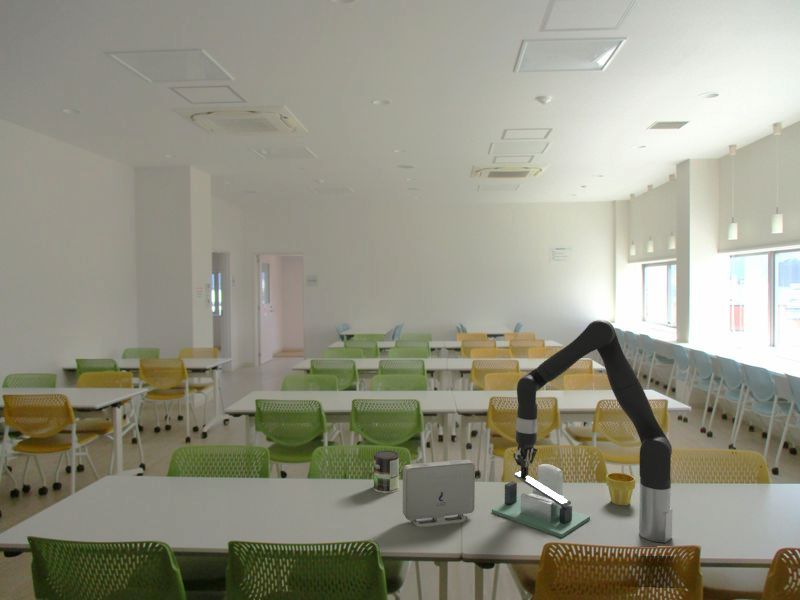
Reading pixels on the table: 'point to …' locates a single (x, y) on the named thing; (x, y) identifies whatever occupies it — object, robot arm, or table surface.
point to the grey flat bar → (543, 490)
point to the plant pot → (620, 487)
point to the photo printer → (551, 478)
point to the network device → (438, 491)
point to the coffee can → (386, 471)
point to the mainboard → (552, 528)
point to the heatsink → (538, 505)
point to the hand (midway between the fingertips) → (524, 476)
